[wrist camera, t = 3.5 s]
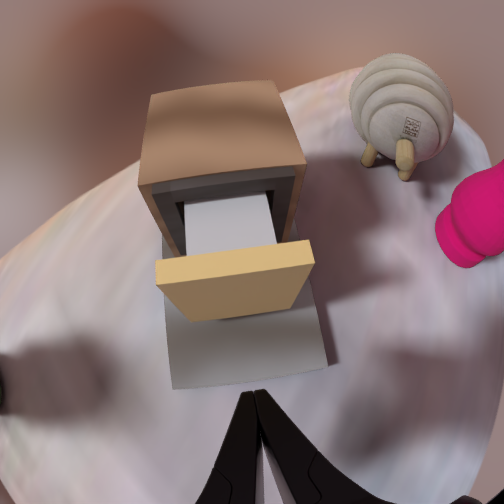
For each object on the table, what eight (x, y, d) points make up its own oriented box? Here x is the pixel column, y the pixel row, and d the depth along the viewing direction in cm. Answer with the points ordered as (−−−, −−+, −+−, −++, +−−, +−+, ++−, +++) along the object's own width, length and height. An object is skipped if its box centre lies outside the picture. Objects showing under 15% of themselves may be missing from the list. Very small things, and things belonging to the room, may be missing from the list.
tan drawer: (290, 308, 17) (315, 262, 11) (191, 322, 17) (156, 284, 10) (260, 168, 22) (263, 94, 15) (182, 178, 21) (163, 106, 15)
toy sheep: (415, 121, 30) (446, 55, 20) (434, 228, 23) (502, 151, 13) (340, 97, 31) (358, 21, 21) (331, 197, 24) (370, 91, 14)
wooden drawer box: (324, 367, 18) (386, 354, 9) (176, 389, 17) (115, 394, 8) (274, 160, 25) (283, 72, 17) (166, 174, 24) (139, 90, 16)
